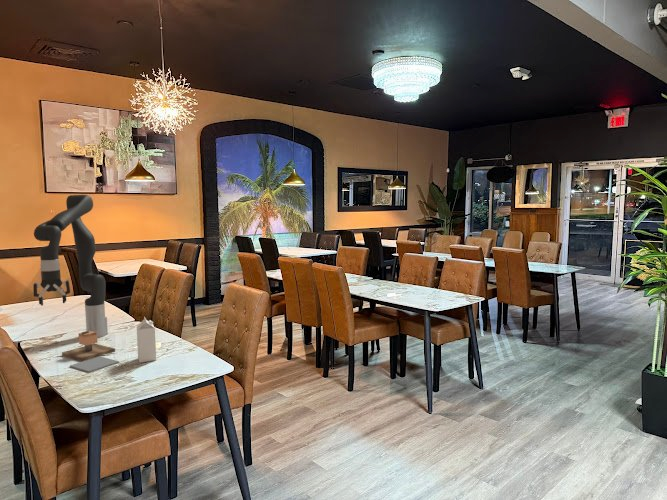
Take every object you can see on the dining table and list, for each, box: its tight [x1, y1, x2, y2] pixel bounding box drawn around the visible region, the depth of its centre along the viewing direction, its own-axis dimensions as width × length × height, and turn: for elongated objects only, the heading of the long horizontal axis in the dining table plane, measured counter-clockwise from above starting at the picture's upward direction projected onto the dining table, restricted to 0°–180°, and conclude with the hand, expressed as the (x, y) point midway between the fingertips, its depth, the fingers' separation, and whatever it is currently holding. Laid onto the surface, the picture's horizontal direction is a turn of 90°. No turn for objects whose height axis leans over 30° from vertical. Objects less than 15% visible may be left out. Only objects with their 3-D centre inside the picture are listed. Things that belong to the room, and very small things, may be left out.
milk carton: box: [136, 316, 157, 363], centre depth 207 cm, size 7×7×19 cm
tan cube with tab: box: [78, 331, 99, 346], centre depth 216 cm, size 6×6×6 cm
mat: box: [69, 356, 120, 373], centre depth 201 cm, size 14×14×1 cm
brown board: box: [61, 343, 116, 362], centre depth 216 cm, size 16×16×9 cm
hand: (53, 304), depth 211 cm, fingers open, 8 cm apart
